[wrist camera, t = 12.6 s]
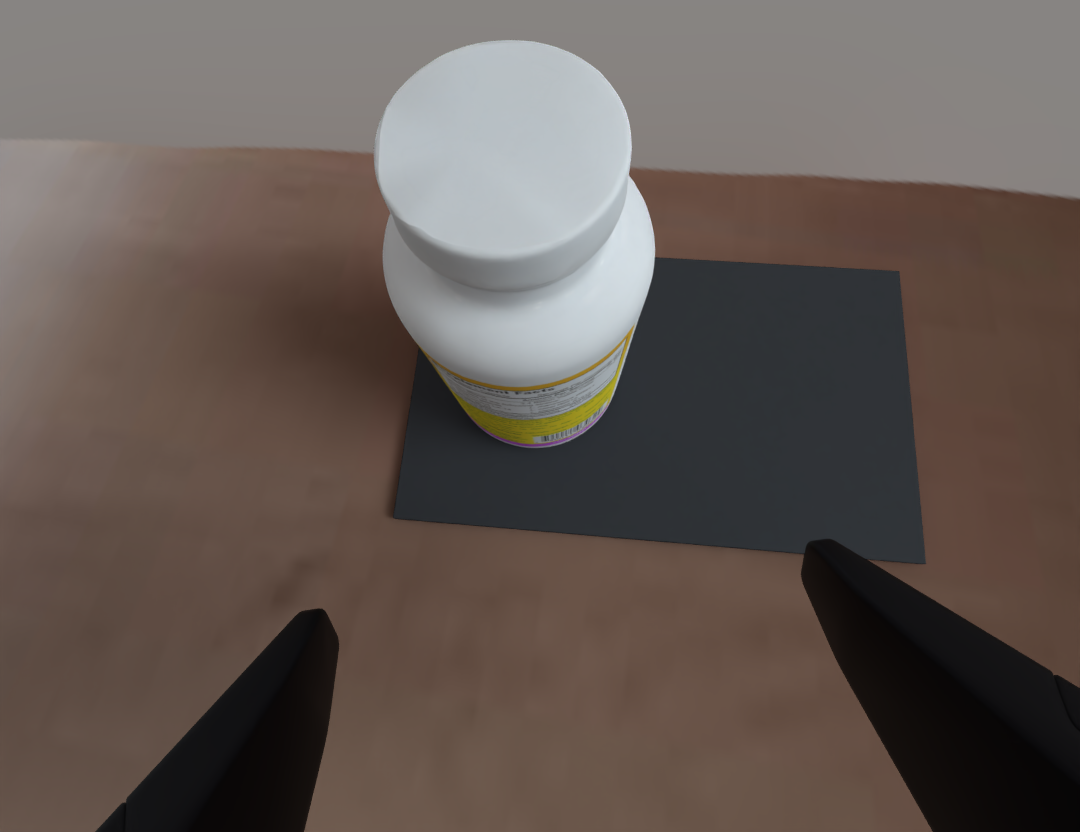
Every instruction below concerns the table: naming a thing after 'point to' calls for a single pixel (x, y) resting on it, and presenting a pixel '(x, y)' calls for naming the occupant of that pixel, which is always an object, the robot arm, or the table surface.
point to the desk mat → (709, 425)
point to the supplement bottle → (515, 234)
